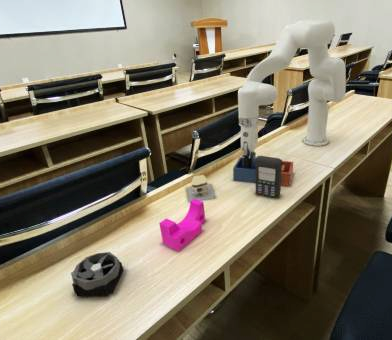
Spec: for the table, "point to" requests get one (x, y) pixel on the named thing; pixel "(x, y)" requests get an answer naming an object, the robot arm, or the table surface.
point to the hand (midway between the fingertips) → (249, 163)
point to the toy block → (183, 227)
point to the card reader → (268, 176)
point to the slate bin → (243, 172)
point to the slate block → (253, 156)
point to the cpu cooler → (97, 275)
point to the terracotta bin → (287, 173)
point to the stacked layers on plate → (200, 189)
